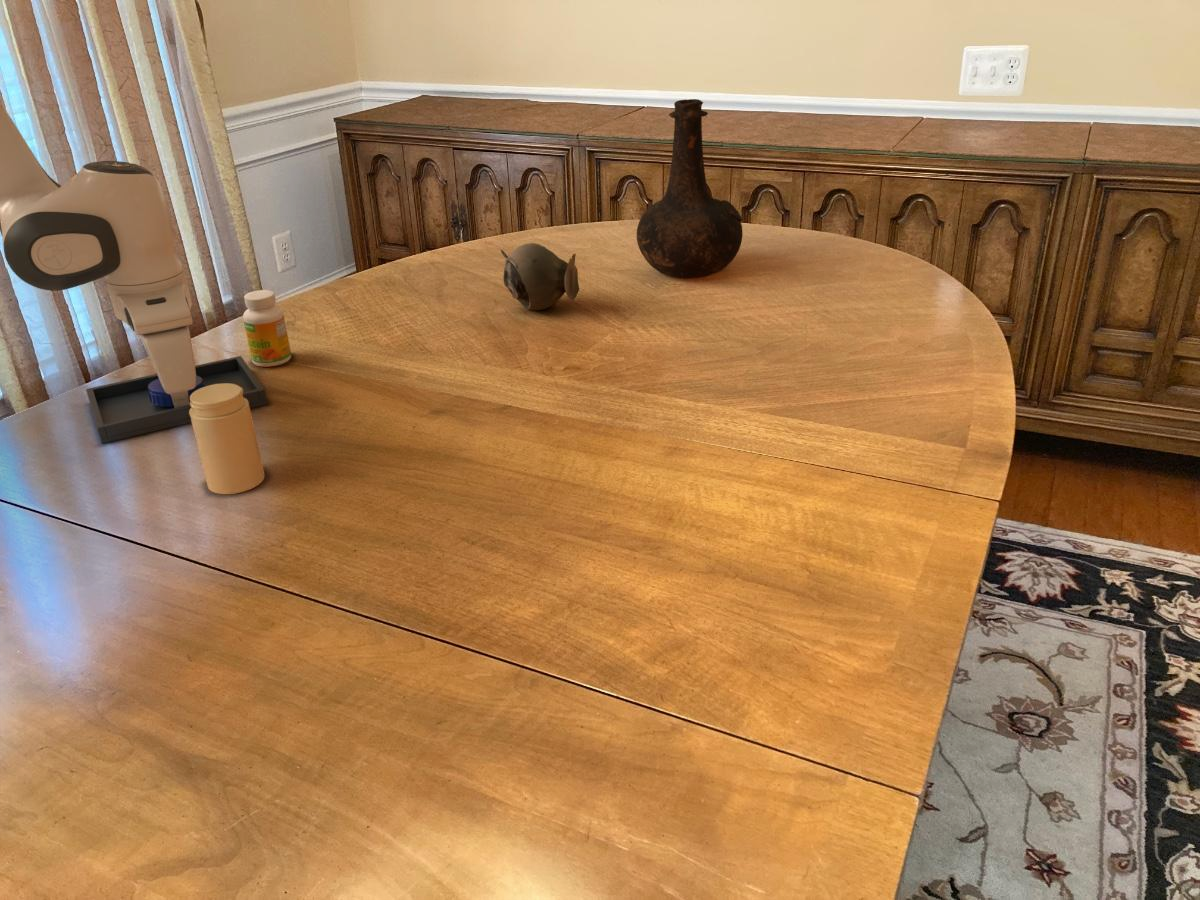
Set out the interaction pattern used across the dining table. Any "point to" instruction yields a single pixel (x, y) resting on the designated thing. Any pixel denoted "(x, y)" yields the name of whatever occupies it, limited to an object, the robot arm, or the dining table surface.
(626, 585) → the dining table surface
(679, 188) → the glass bottle
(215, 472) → the jar
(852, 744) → the dining table surface
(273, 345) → the supplement bottle
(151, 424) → the tray
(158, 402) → the lid
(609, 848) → the dining table surface
